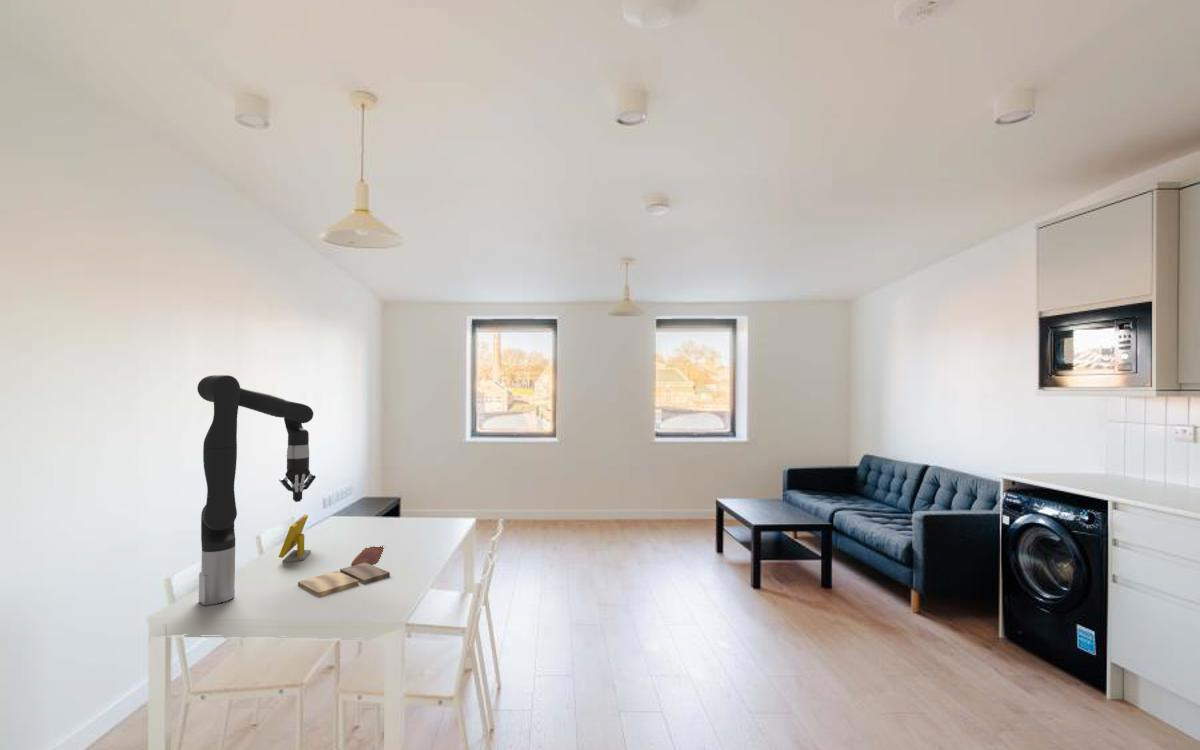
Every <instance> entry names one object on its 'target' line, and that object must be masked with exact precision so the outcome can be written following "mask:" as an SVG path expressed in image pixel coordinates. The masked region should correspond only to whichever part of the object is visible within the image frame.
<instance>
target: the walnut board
mask: <svg viewBox="0 0 1200 750" xmlns="http://www.w3.org/2000/svg"><path fill="white" fill-rule="evenodd" d="M339 572H341V573H343V574H345V575H348V576H350V577H352V578H354V579H356V580H358V583H359V584H362V585H366V584H370V583H374V582H376V581H380V580H383V579H387V578H389V577H390V576H391V575H390V571H387V570H384V569H382V568H379V567H378V566H375V565H370V564H368V563H366V562H365V563H361V564H357V565H354V566H351V565H350V566H346V567H343V568H340V569H339Z"/></svg>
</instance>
